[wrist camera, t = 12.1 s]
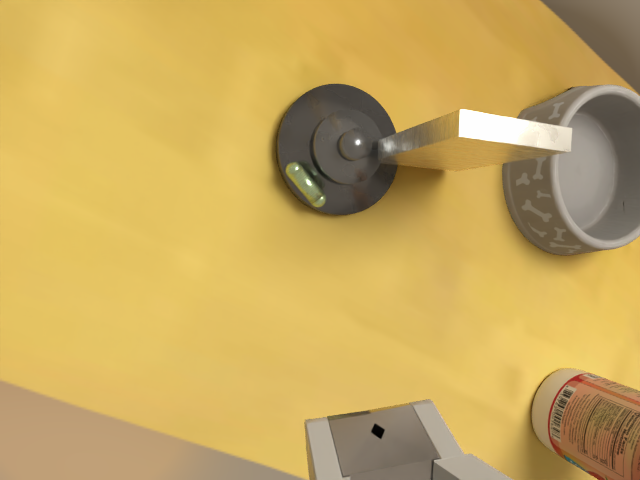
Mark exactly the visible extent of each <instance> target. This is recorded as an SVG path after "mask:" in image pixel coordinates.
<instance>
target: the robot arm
mask: <svg viewBox="0 0 640 480" xmlns="http://www.w3.org/2000/svg"><path fill="white" fill-rule="evenodd" d="M304 424H305V437H306V450H307V461H308V470H309V479H310V480H513V479H511V478H509V477H508V476H506V475H505V474H503V473H501V472H500V471H498V470H497V469H495V468H493V467H492V466H490V465H489V464H487V463H485V462H484V461H482V460H481V459H479V458H477V457H476V456H474V455H473V454H464V453H463V451H462V449H461V448H460V446H459V444H458V443H457V441H456V439H455V438H454V436H453V434H452V433H451V431H450V429H449V428H448V426H447V424H446V423H445V421H444V419H443V418H442V416H441V414H440V413H439V411H438V409H437V408H436V406H435V404H434V403H433V401H431V400H430V399H428V400H422V401H416V402H411V403H409V404H408V403H406V404H400V405H395V406H389V407H384V408H378V409H372V410H368V411H361V412H354V413H347V414H340V415H333V416H327V418H326V417H323V418H316V419H308V420H305V423H304Z"/></svg>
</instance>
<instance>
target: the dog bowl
mask: <svg viewBox="0 0 640 480" xmlns="http://www.w3.org/2000/svg"><path fill="white" fill-rule="evenodd" d="M517 119H521V120H527V121H533V122H539V123H545V124H551V125H557V126H563V127H569V128H572V140H571V152H569V153H563V154H557V155H551V156H545V157H539V158H533V159H527V160H521V161H515V162H509V163H503V168H502V179H503V189H504V195H505V200H506V203H507V207H508V209H509V212H510V214H511V217H512V219H513V221H514V222H515V224H516V226H517V227H518V229H519V230H520V232H521V233H522V234H523V235H524V236H525V237H526V238H527V239H528V240H529V241H530V242H531V243H532V244H534V245H535V246H537V247H538V248H540V249H542V250H544V251H546V252H549V253H552V254H557V255H574V254H581V253H589V252H595V251H601V250H610V249H616V248H619V247H622V246H625V245H627V244H629V243H630V242H632V241H633V240H635V239H636V238H637V237H639V236H640V96H638V95H637V94H636V93H634V92H633V91H631V90H629V89H627V88H624V87H621V86H617V85H597V86H578V87H571V88H570V90H568V91H566V92H564V93H562V94H560V95H558V96H556V97H554V98H552V99H550V100H547V101H545V102H543V103H541V104H538V105H536V106H533V107H530V108H527V109H524V110H523V111H521V112H520V114H519V116H518V117H517Z"/></svg>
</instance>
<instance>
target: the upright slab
mask: <svg viewBox="0 0 640 480" xmlns="http://www.w3.org/2000/svg"><path fill="white" fill-rule="evenodd" d="M571 140H572V128H569V127H563V126H557V125H551V124H545V123H539V122H533V121H527V120H521V119H515V118H509V117H503V116H498V115H492V114H486V113H480V112H474V111H468V110H462V109H460V110H457V111H454V112H452V113H449V114H447V115H444V116H441V117H439V118H436V119H433V120H431V121H428V122H425V123H423V124H420V125H417V126H415V127H412V128H409V129H407V130H404V131H402V132H399V133H396V134H394V135H391V136H388V137H386V138H383V139H382V136H381V133H380V131H379V129H378V127H377V125H376V124H375V123H374V121H373V120H372V119H371V118H370V117H369V116H367V115H366V114H364V113H362V112H360V111H358V110H354V109H342V110H338V111H335V112H333V113H332V114H330V115H328V116H327V117H325V118H324V119H323V120H321V121H320V122H319V123H318V124H317V126H316V127H315V129H314V130H313V133H312V135H311V139H310V156H311V160H312V162H313V165H314V167H315V168H316V170H317V171H318V173H319V174H320V175H321V176H322V177H324V178H325V179H326V180H328V181H329V182H332V183H334V184H338V185H350V184H356V183H360V182H363V181H365V180H367V179H368V178H370V177H371V176H372V175H373V174H374V173H375V172H376V170H377V169H378V167H379V165H380V163H385V164H394V165H403V166H412V167H421V168H430V169H440V170H449V171H461V170H467V169H473V168H479V167H485V166H491V165H497V164H503V163H509V162H515V161H521V160H527V159H533V158H539V157H545V156H551V155H557V154H563V153H569V152H571Z"/></svg>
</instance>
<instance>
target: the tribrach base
mask: <svg viewBox="0 0 640 480" xmlns="http://www.w3.org/2000/svg"><path fill="white" fill-rule="evenodd" d="M342 109H354V110H358V111H360V112H362V113H364V114H366V115H367V116H369V117H370V118H371V119H372V120H373V121H374V123H375V124H376V125H377V127H378V129H379V131H380V133H381V136H382V139H383V138H386V137H388V136H391V135H394V134H396V131H395V128H394V126H393V123H392V121H391V119H390V117H389V116H388V114H387V112H386V111H385V109H384V108H383V107H382V106H381V105H380V104H379V103H378V102H377V101H376V100H375V99H374V98H373V97H372V96H370V95H369V94H368V93H366V92H364V91H362V90H360V89H358V88H355V87H353V86H349V85H344V84H328V85H323V86H319V87H316V88H314V89H312V90H310V91H308V92H306V93H305V94H304V95H302V96H301V97H300V98H299V99H298V100H297V101H296V102H295V103H294V104H293V105H292V106H291V107H290V108H289V109H288V111H287V112H286V114H285V115H284V117H283V119H282V121H281V124H280V126H279V130H278V134H277V140H276V156H277V163H278V166H279V170H280V173H281V175H282V177H283V179H284V181H285V183H286V185H287V186H288V188H289V189H290V190H291V192H292V193H293V194H294V195H295V196H296V197H297V198H298V199H299V200H300V201H301V202H303V203H304V204H305V205H307V206H308V207H310V208H312V209H314V210H316V211H319V212H322V213H326V214H332V215H347V214H353V213H357V212H360V211H363V210H365V209H367V208H369V207H371V206H372V205H374V204H375V203H376V202H377V201H378V200H380V199H381V198H382V196H383V195H384V194H385V193H386V192H387V190H388V189H389V187H390V185H391V183H392V181H393V179H394V177H395V174H396V170H397V166H398V165H394V164H385V163H380V165H379V167H378V169H377V170H376V172H375V173H374V174H373V175H372V176H371V177H370V178H368V179H367V180H365V181H363V182H360V183H356V184H350V185H338V184H334V183H332V182H329V181H328V180H326V179H325V178H324V177H322V176H321V175H320V174H319V173H318V171H317V170H316V168H315V167H314V165H313V162H312V160H311V156H310V139H311V135H312V133H313V130H314V129H315V127H316V126H317V124H318V123H319V122H320V121H321V120H323V119H324V118H325V117H327V116H328V115H330V114H332V113H333V112H335V111H338V110H342Z"/></svg>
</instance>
